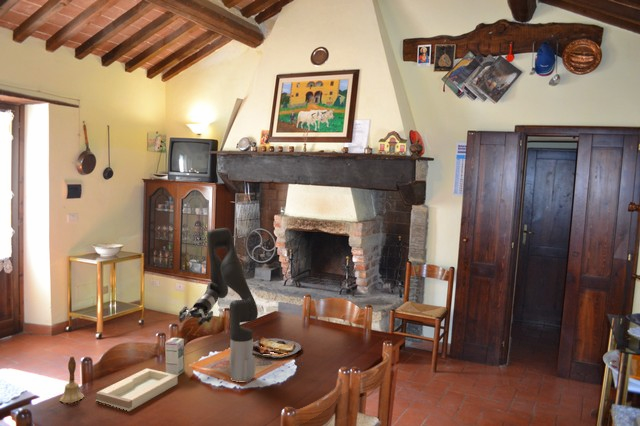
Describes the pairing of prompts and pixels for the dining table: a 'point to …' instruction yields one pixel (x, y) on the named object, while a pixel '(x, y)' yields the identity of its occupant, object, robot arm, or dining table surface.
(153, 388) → the tray
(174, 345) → the syrup box
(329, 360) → the dining table surface
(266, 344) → the food plate
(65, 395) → the hand bell
